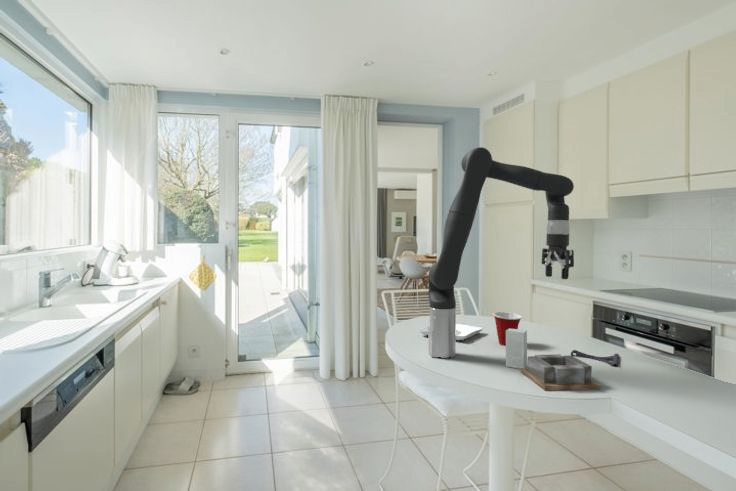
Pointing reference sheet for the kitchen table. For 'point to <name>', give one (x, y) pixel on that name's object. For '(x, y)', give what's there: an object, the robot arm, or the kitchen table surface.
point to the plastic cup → (505, 324)
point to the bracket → (604, 359)
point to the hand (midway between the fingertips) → (556, 277)
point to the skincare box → (516, 348)
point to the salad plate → (464, 329)
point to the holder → (559, 372)
